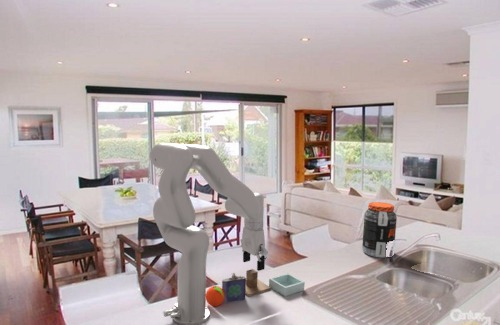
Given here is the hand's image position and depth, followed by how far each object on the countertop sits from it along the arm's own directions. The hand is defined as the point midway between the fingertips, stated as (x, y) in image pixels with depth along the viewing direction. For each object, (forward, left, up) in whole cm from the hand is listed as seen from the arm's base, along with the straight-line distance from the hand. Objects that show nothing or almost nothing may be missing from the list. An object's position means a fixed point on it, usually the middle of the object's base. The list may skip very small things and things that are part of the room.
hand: (253, 265), depth 151 cm
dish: (+11, -8, -10) cm, 17 cm away
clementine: (-20, -4, -10) cm, 22 cm away
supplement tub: (+79, -1, -10) cm, 79 cm away
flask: (-12, -5, -10) cm, 17 cm away
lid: (-1, 0, -9) cm, 9 cm away
